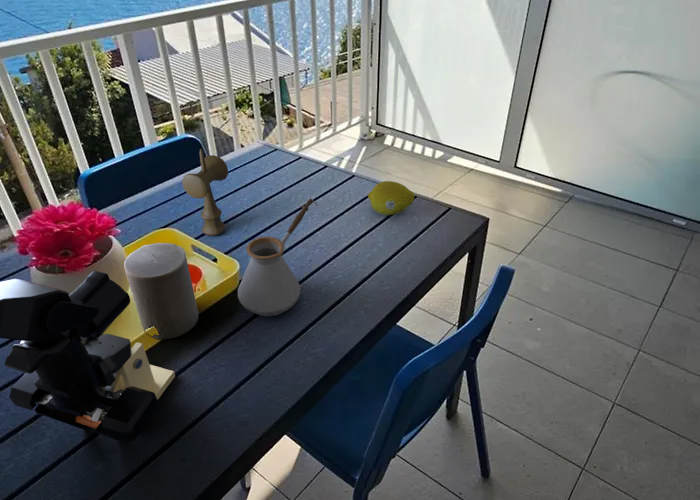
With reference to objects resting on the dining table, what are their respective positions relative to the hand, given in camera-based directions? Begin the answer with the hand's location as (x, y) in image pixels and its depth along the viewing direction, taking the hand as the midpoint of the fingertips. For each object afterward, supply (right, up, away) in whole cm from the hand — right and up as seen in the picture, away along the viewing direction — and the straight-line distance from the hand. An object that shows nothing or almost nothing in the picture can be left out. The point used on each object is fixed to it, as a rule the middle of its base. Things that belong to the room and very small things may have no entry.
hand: (104, 432), depth 71 cm
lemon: (+45, +35, +50) cm, 75 cm away
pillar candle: (+3, +13, +19) cm, 23 cm away
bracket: (+2, +4, +5) cm, 7 cm away
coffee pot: (+22, +18, +26) cm, 39 cm away
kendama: (+4, +30, +41) cm, 51 cm away
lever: (+1, +6, 0) cm, 6 cm away
